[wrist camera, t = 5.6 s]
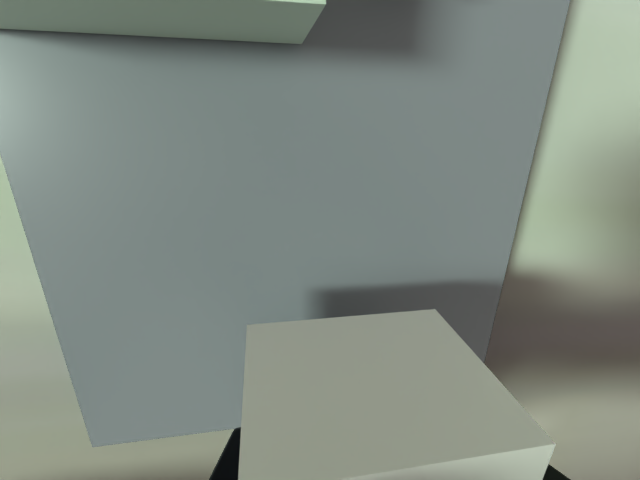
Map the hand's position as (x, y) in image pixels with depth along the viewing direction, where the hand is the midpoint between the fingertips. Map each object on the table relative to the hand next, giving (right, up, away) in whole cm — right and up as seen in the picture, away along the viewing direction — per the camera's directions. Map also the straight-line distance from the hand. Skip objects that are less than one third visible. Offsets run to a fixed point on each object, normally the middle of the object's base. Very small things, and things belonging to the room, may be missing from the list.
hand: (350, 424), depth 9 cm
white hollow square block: (0, 0, +1) cm, 1 cm away
